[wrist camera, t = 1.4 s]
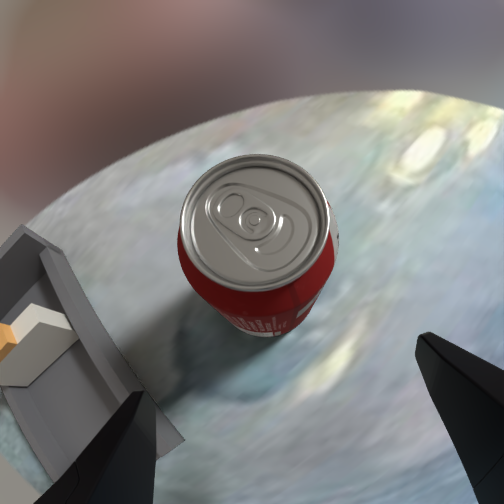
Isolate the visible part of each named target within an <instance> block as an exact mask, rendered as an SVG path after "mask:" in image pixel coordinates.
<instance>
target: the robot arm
mask: <svg viewBox="0 0 504 504" xmlns="http://www.w3.org/2000/svg"><path fill="white" fill-rule="evenodd" d="M415 357H416V361H417V363H418V366H419V368H420V371H421V373H422V376H423V379H424V381H425V384H426V387H427V389H428V392H429V394H430V396H431V399H432V401H433V403H434V405H435V407H436V409H437V411H438V413H439V415H440V417H441V419H442V421H443V423H444V425H445V427H446V429H447V431H448V433H449V435H450V438H451V440H452V442H453V444H454V446H455V448H456V451H457V453H458V455H459V457H460V459H461V462H462V464H463V466H464V469H465V471H466V473H467V476H468V478H469V480H470V483H471V485H472V488H473V491H474V493H475V495H476V498H477V501H478V503H479V504H504V370H502V369H500V368H498V367H496V366H495V365H493V364H491V363H489V362H487V361H485V360H483V359H481V358H479V357H477V356H476V355H474V354H472V353H470V352H468V351H466V350H464V349H462V348H460V347H458V346H457V345H455V344H453V343H451V342H449V341H447V340H445V339H443V338H441V337H439V336H437V335H436V334H434V333H432V332H426V333H423V334H420V335H419V336H418V339H417V344H416V350H415ZM156 453H157V438H156V408H155V405H154V403H153V402H152V400H151V398H150V397H149V395H148V393H147V392H146V391H145V390H135V391H133V392H131V394H130V395H129V396H128V397H127V398H126V400H125V401H124V402H123V403H122V404H121V406H120V407H119V408H118V409H117V410H116V412H115V413H114V414H113V415H112V416H111V418H110V419H109V420H108V421H107V422H106V424H105V425H104V426H103V427H102V428H101V430H100V431H99V432H98V433H97V434H96V436H95V437H94V438H93V439H92V440H91V442H90V443H89V444H88V445H87V446H86V448H85V449H84V450H83V451H82V452H81V454H80V455H79V456H78V457H77V458H76V460H75V461H74V462H73V463H72V464H71V465H70V467H69V468H68V469H67V470H66V471H65V472H64V474H63V475H62V476H61V477H60V478H59V479H58V480H57V481H56V482H55V483H54V484H53V485H52V486H51V487H50V488H49V489H48V490H47V491H46V492H45V493H44V494H43V495H42V496H41V497H40V498H39V499H38V500H37V501H36V502H34V504H153V493H154V478H155V465H156Z"/></svg>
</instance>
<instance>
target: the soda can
mask: <svg viewBox="0 0 504 504" xmlns="http://www.w3.org/2000/svg"><path fill="white" fill-rule="evenodd" d="M177 247H178V255H179V260H180V264H181V267H182V270H183V272H184V274H185V276H186V278H187V280H188V281H189V283H190V284H191V286H192V287H193V288H194V290H195V291H196V292H197V293H198V294H199V295H200V296H201V297H202V298H203V299H204V300H206V301H207V302H208V303H209V304H210V305H211V306H212V307H213V308H215V309H216V310H217V311H218V312H219V313H220V314H221V315H222V316H224V317H225V318H226V319H227V320H228V321H229V322H231V323H232V324H233V325H234V326H235V327H237V328H238V329H239V330H241V331H243V332H245V333H247V334H250V335H253V336H258V337H274V336H278V335H282V334H285V333H287V332H289V331H291V330H293V329H294V328H296V327H297V326H298V325H299V324H300V323H301V322H302V321H303V320H304V319H305V318H306V317H307V315H308V314H309V312H310V310H311V308H312V307H313V305H314V303H315V301H316V299H317V298H318V296H319V294H320V292H321V290H322V289H323V287H324V285H325V283H326V281H327V279H328V278H329V276H330V274H331V272H332V270H333V267H334V264H335V262H336V258H337V254H338V247H339V233H338V226H337V222H336V219H335V215H334V213H333V211H332V208H331V207H330V205H329V203H328V201H327V200H326V197H325V195H324V193H323V191H322V189H321V187H320V186H319V185H318V183H317V182H316V180H315V179H314V178H313V177H312V176H311V175H310V174H309V173H308V172H307V171H305V170H304V169H303V168H301V167H300V166H298V165H297V164H295V163H293V162H291V161H289V160H286V159H283V158H280V157H277V156H272V155H265V154H250V155H243V156H238V157H234V158H231V159H228V160H225V161H223V162H221V163H219V164H217V165H216V166H214V167H212V168H211V169H209V170H208V171H207V172H206V173H204V174H203V175H202V176H201V177H200V178H199V179H198V180H197V181H196V182H195V184H194V185H193V186H192V188H191V189H190V191H189V193H188V194H187V196H186V198H185V201H184V203H183V206H182V210H181V215H180V226H179V231H178V239H177Z"/></svg>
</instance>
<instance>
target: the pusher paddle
mask: <svg viewBox="0 0 504 504" xmlns="http://www.w3.org/2000/svg"><path fill="white" fill-rule="evenodd" d="M78 339H79V337H78V335H77V333H76V331H75V329H74V327H73V325H72V324H71V322H70V320H69V318H68V316H67V315H65V314H62V313H59V312H56V311H53V310H50V309H47V308H44V307H41V306H38V305H35V304H33V303H31V304H30V305H29V306H28V307H27V308H26V309H25V310H24V311H23V312H22V313H21V314H20V315H19V316H18V318H17V319H16V320H15V321H14V322H13V323H12V324H11V325H6V324H2V323H0V385H4V386H28V385H29V384H30V383H31V382H32V381H34V380H35V379H36V378H37V377H38V376H39V375H40V374H41V373H42V372H43V371H44V370H45V369H46V368H47V367H48V366H50V365H51V364H52V363H53V362H54V361H55V360H56V359H57V358H58V357H59V356H60V355H61V354H62V353H64V352H65V351H66V350H67V349H68V348H69V347H70V346H71V345H72V344H73V343H75V342H76V341H77V340H78Z"/></svg>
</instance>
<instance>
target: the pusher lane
mask: <svg viewBox="0 0 504 504" xmlns="http://www.w3.org/2000/svg"><path fill="white" fill-rule="evenodd" d="M31 303H33V304H35V305H38V306H41V307H44V308H47V309H50V310H53V311H56V312H59V313H62V314H65V315H67V316H68V318H69V320H70V322H71V324H72V325H73V327H74V329H75V331H76V333H77V335H78V337H79V339H78V340H77V341H76V342H75V343H73V344H72V345H71V346H70V347H69V348H68V349H67V350H66V351H65V352H64V353H62V354H61V355H60V356H59V357H58V358H57V359H56V360H55V361H54V362H53V363H52V364H51V365H50V366H48V367H47V368H46V369H45V370H44V371H43V372H42V373H41V374H40V375H39V376H38V377H37V378H36V379H35V380H34V381H32V382H31V383H30V384H29V385H28V386H4V385H0V386H1V389H2V391H3V393H4V395H5V397H6V400H7V402H8V404H9V406H10V408H11V410H12V412H13V414H14V416H15V418H16V420H17V422H18V424H19V426H20V428H21V430H22V431H23V433H24V435H25V437H26V439H27V440H28V442H29V444H30V446H31V447H32V449H33V451H34V452H35V454H36V456H37V457H38V459H39V461H40V462H41V464H42V465H43V467H44V468H45V470H46V472H47V473H48V475H49V476H50V478H51V479H52V480H53V482H54V483H55V482H56V481H57V480H58V479H59V478H60V477H61V476H62V475H63V474H64V472H65V471H66V470H67V469H68V468H69V467H70V465H71V464H72V463H73V462H74V461H75V460H76V458H77V457H78V456H79V455H80V454H81V452H82V451H83V450H84V449H85V448H86V446H87V445H88V444H89V443H90V442H91V440H92V439H93V438H94V437H95V436H96V434H97V433H98V432H99V431H100V430H101V428H102V427H103V426H104V425H105V424H106V422H107V421H108V420H109V419H110V418H111V416H112V415H113V414H114V413H115V412H116V410H117V409H118V408H119V407H120V406H121V404H122V403H123V402H124V401H125V400H126V398H127V397H128V396H129V395H130V394H131V392H133V391H135V390H145V391H146V389H145V388H144V387H143V385H142V384H141V382H140V381H139V380H138V378H137V377H136V375H135V374H134V372H133V371H132V370H131V368H130V367H129V365H128V364H127V362H126V361H125V359H124V358H123V356H122V355H121V353H120V352H119V350H118V349H117V347H116V345H115V344H114V342H113V341H112V339H111V338H110V336H109V334H108V333H107V331H106V329H105V328H104V326H103V325H102V323H101V321H100V319H99V318H98V316H97V314H96V313H95V311H94V309H93V307H92V306H91V304H90V302H89V300H88V299H87V297H86V295H85V293H84V291H83V290H82V288H81V286H80V284H79V282H78V280H77V278H76V276H75V274H74V273H73V271H72V269H71V267H70V265H69V263H68V261H67V259H66V257H65V255H64V252H63V251H62V250H61V249H59V248H58V247H56V246H54V245H53V244H51V243H50V242H48V241H47V240H45V239H44V238H42V237H41V236H39V235H38V234H36V233H35V232H33V231H32V230H30V229H29V228H27V227H26V226H24V225H23V224H21V225H20V226H19V227H18V228H17V229H16V230H15V231H14V232H13V234H12V235H11V236H10V237H9V238H8V239H7V240H6V241H5V242H4V243H3V245H2V246H1V247H0V323H2V324H6V325H11V324H12V323H13V322H14V321H15V320H16V319H17V318H18V316H19V315H20V314H21V313H22V312H23V311H24V310H25V309H26V308H27V307H28V306H29V305H30V304H31ZM146 392H147V391H146ZM147 393H148V392H147ZM148 395H149V394H148ZM149 397H150V398H151V396H150V395H149ZM151 400H152V402H153V403H154V405H155V408H156V438H157V453H156V460H157V459H159V458H160V457H162V456H164V455H165V454H167V453H168V452H170V451H171V450H173V449H174V448H175V447H177V446H178V445H180V444H181V443H182V442H184V441H185V439H184V438H183V437H182V436H181V434H180V433H179V432H178V431H177V430H176V428H175V427H174V426H173V425H172V423H171V422H170V421H169V420H168V418H167V417H166V416H165V415H164V413H163V412H162V411H161V409H160V408H159V407H158V406H157V404H156V403H155V402H154V400H153V399H152V398H151Z"/></svg>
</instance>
